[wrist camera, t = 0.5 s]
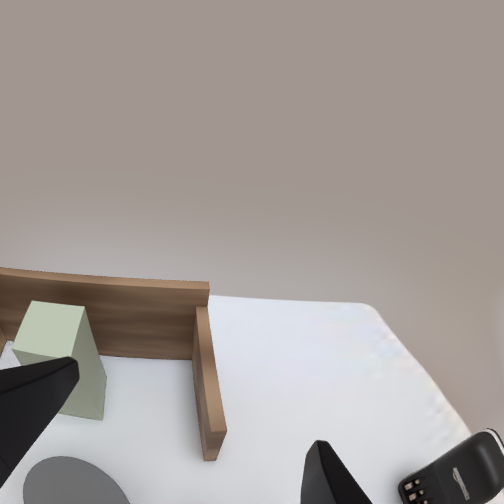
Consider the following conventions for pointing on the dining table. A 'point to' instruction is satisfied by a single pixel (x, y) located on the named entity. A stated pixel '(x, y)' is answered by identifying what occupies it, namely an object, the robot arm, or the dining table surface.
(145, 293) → the open box
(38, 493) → the grey mat
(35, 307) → the block
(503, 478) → the battery charger
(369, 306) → the dining table surface
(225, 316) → the dining table surface
